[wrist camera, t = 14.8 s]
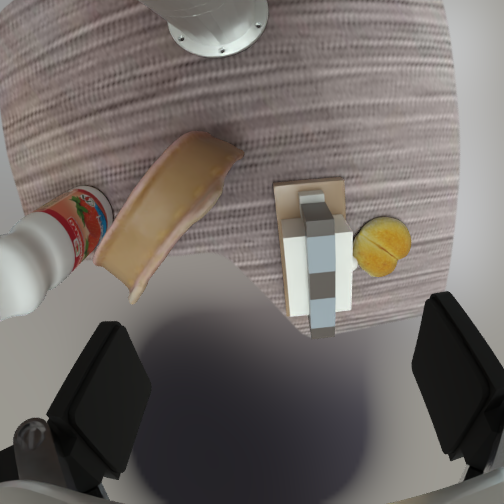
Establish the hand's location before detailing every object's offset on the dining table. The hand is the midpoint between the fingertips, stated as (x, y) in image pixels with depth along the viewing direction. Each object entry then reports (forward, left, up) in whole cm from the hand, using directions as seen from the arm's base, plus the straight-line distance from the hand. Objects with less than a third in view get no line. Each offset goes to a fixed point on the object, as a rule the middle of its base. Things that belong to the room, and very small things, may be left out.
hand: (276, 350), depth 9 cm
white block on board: (+14, +5, -34) cm, 37 cm away
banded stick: (+14, +5, -30) cm, 33 cm away
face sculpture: (+3, -12, -34) cm, 37 cm away
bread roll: (+14, +15, -35) cm, 40 cm away
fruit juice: (+4, -28, -34) cm, 45 cm away
